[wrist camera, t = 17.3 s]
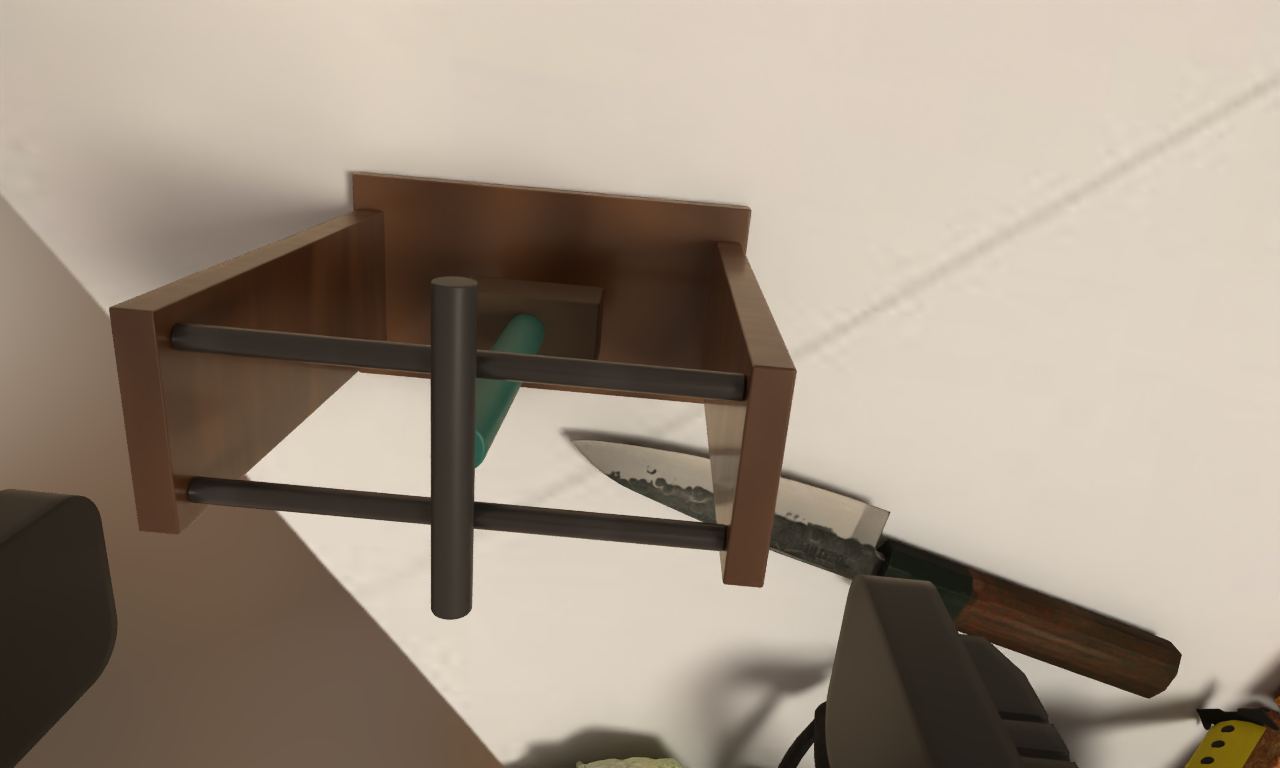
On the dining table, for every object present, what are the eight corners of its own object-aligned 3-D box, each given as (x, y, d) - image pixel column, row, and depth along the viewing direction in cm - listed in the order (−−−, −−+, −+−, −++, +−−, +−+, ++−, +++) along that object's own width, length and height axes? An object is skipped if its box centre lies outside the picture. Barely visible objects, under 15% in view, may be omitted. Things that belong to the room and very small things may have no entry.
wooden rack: (365, 366, 44) (134, 577, 25) (359, 171, 40) (88, 246, 22) (725, 399, 44) (766, 635, 25) (749, 206, 40) (818, 311, 22)
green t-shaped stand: (469, 409, 40) (344, 611, 24) (473, 196, 36) (330, 275, 21) (595, 420, 40) (548, 629, 24) (610, 208, 36) (567, 297, 21)
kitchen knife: (1206, 635, 45) (1154, 705, 46) (1182, 611, 47) (1133, 679, 48) (583, 408, 42) (551, 491, 43) (587, 393, 44) (556, 473, 45)
